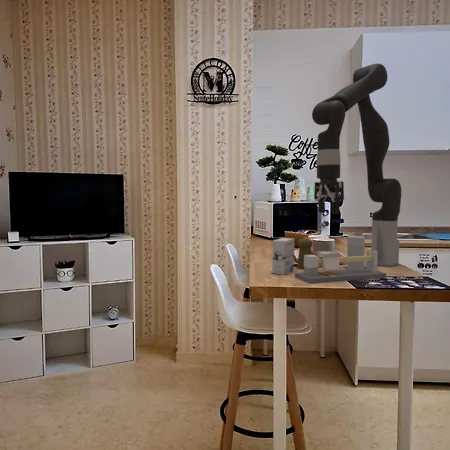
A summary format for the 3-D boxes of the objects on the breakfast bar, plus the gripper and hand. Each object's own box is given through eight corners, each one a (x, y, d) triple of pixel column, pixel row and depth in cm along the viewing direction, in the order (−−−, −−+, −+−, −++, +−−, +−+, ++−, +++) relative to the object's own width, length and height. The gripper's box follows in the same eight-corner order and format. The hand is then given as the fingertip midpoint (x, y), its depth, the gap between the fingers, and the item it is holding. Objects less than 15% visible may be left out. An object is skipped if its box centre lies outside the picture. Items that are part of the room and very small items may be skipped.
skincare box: (364, 268, 153) (365, 236, 152) (364, 270, 149) (365, 237, 148) (347, 267, 155) (347, 235, 154) (346, 269, 151) (347, 236, 150)
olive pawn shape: (313, 269, 150) (313, 239, 149) (296, 269, 151) (296, 239, 150) (313, 266, 156) (313, 238, 155) (296, 266, 157) (297, 237, 156)
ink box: (281, 269, 151) (282, 237, 150) (294, 271, 148) (295, 238, 147) (271, 273, 143) (271, 240, 142) (285, 275, 141) (285, 240, 140)
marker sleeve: (329, 265, 138) (329, 250, 138) (339, 268, 132) (339, 253, 132) (315, 266, 137) (315, 251, 136) (325, 269, 131) (325, 254, 131)
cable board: (367, 272, 145) (367, 248, 144) (386, 278, 136) (386, 252, 135) (295, 277, 137) (295, 251, 136) (309, 283, 128) (309, 256, 127)
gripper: (351, 162, 130) (350, 214, 131) (326, 165, 144) (326, 211, 145) (330, 162, 128) (330, 214, 129) (307, 165, 141) (307, 212, 143)
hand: (328, 213), depth 137 cm, fingers open, 8 cm apart
